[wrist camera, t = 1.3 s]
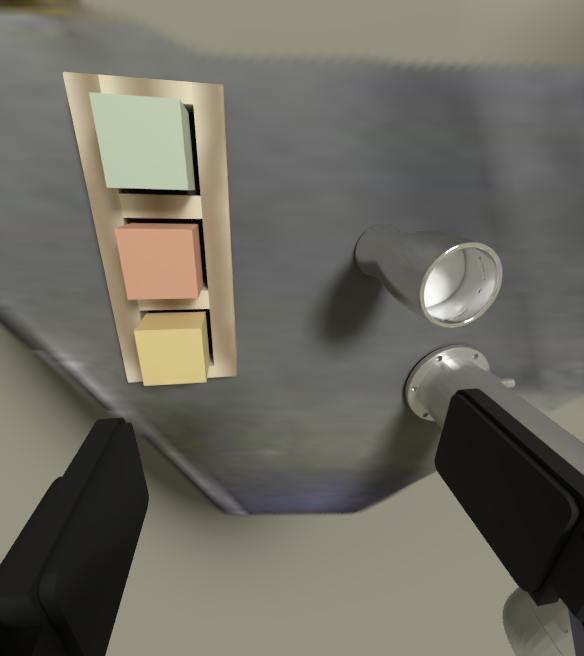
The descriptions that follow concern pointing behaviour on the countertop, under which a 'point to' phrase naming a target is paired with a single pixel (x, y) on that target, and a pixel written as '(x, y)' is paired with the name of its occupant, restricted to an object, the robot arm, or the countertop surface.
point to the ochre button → (173, 348)
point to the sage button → (143, 141)
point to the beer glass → (432, 272)
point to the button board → (163, 210)
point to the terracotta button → (160, 260)
